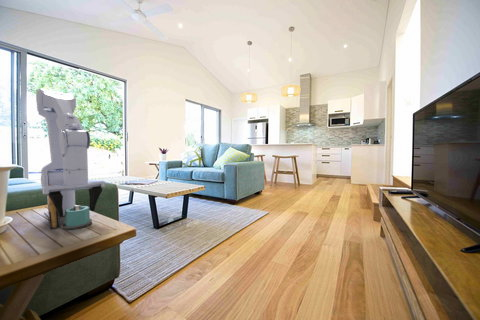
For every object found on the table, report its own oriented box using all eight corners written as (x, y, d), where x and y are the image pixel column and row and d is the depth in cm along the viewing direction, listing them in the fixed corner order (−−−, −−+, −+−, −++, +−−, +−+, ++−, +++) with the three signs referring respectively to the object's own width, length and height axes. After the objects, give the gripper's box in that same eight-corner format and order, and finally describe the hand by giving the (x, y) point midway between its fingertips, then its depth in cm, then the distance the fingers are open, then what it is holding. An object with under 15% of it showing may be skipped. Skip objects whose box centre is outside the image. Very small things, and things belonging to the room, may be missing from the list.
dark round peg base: (59, 225, 60) (58, 206, 59) (87, 219, 65) (87, 201, 65) (65, 231, 55) (65, 211, 55) (95, 224, 61) (94, 205, 61)
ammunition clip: (59, 227, 58) (55, 187, 57) (50, 229, 57) (46, 188, 56) (57, 218, 66) (54, 183, 65) (49, 219, 65) (46, 183, 64)
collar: (63, 223, 59) (63, 209, 59) (85, 218, 64) (85, 205, 64) (68, 227, 56) (68, 212, 56) (91, 222, 61) (91, 208, 60)
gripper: (45, 172, 51) (47, 223, 52) (108, 168, 63) (109, 210, 63) (40, 170, 55) (42, 217, 56) (100, 167, 67) (101, 206, 68)
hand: (77, 213), depth 60 cm, fingers open, 7 cm apart
